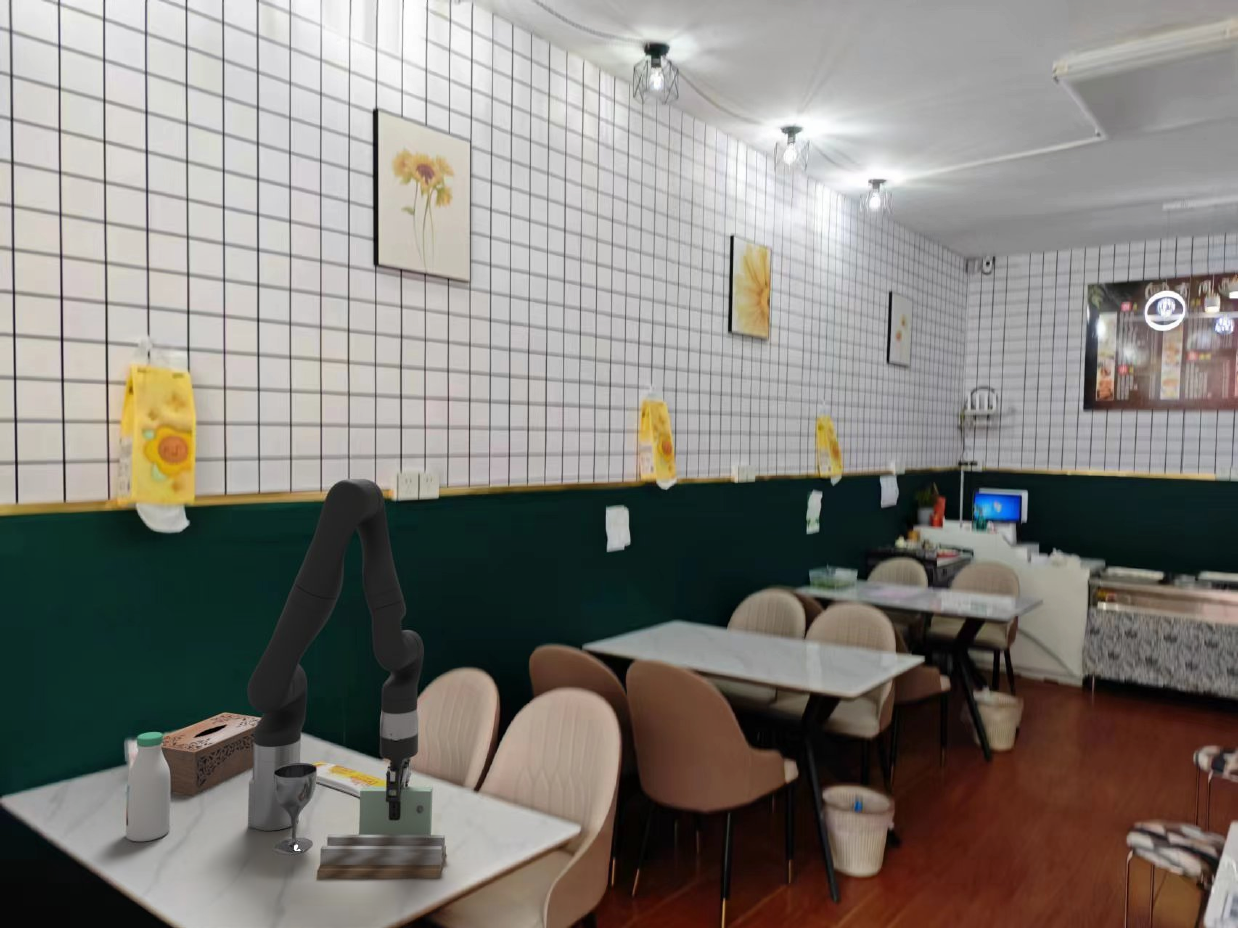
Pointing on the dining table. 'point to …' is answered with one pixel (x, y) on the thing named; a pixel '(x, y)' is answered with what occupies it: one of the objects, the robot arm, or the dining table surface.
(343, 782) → the food package
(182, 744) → the tissue box cover
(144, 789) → the milk bottle
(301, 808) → the wine glass
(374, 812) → the door panel
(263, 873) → the dining table surface
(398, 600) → the robot arm
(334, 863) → the door track
